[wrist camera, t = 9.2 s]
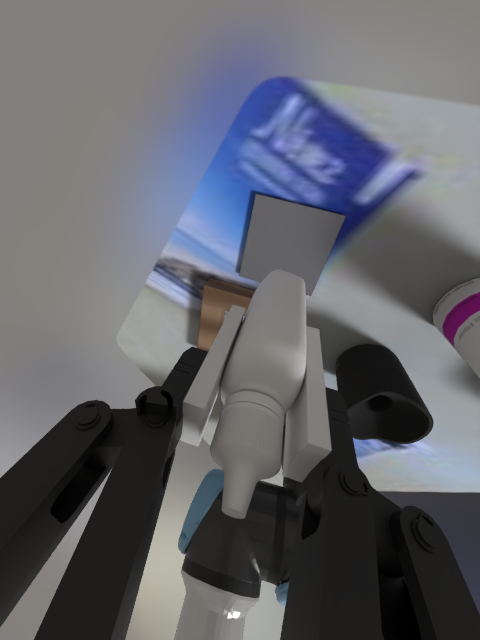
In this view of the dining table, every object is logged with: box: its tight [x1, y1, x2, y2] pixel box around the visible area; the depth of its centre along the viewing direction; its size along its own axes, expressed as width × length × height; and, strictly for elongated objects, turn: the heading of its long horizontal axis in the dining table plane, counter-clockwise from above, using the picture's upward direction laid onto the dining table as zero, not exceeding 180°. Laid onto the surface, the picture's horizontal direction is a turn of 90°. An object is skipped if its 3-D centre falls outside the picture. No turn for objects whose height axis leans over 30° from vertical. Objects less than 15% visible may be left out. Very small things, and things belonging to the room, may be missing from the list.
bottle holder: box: [197, 278, 255, 352], centre depth 35 cm, size 14×12×2 cm
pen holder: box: [336, 345, 433, 444], centre depth 31 cm, size 9×9×10 cm
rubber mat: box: [239, 194, 346, 296], centre depth 28 cm, size 10×10×1 cm
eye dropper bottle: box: [210, 269, 307, 519], centre depth 11 cm, size 4×6×12 cm
